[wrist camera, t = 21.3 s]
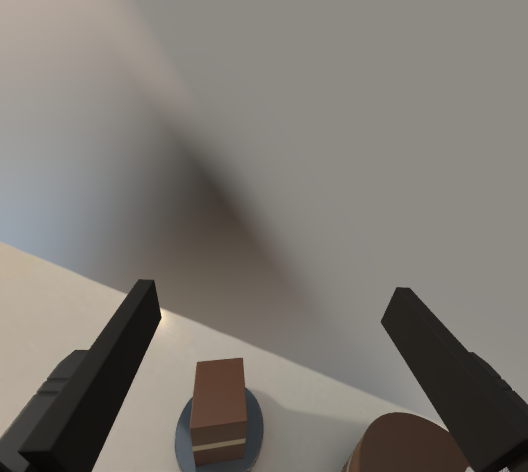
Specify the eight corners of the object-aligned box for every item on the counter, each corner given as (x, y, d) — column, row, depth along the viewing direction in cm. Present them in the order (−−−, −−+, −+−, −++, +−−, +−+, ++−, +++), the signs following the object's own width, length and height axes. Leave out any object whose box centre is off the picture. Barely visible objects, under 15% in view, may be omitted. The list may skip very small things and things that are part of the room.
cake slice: (200, 400, 28) (196, 361, 24) (240, 395, 29) (242, 357, 25) (195, 466, 23) (189, 429, 19) (243, 458, 24) (247, 420, 20)
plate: (254, 378, 32) (254, 374, 31) (271, 476, 23) (272, 473, 23) (180, 392, 29) (179, 388, 29) (169, 506, 21) (168, 502, 20)
